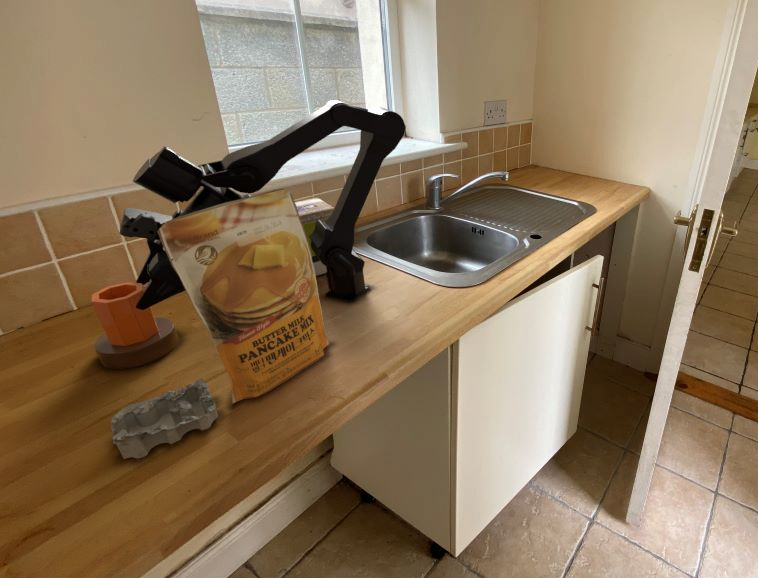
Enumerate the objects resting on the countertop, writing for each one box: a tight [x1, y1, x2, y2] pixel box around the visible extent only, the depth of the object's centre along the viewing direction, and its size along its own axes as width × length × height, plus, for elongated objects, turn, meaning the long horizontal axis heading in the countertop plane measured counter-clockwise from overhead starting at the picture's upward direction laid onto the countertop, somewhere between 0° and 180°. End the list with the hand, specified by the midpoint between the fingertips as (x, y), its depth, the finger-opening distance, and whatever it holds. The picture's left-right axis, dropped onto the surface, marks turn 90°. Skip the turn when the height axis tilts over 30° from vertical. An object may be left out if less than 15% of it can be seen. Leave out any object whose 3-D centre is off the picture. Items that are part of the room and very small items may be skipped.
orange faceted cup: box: [91, 281, 159, 346], centre depth 71 cm, size 6×6×8 cm
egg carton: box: [110, 377, 219, 460], centre depth 59 cm, size 11×8×4 cm
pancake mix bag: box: [157, 187, 330, 404], centre depth 65 cm, size 7×19×28 cm, turn 152°
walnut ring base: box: [93, 316, 180, 370], centre depth 73 cm, size 10×10×3 cm
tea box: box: [295, 197, 335, 277], centre depth 98 cm, size 15×10×15 cm
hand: (139, 295), depth 71 cm, fingers open, 9 cm apart
